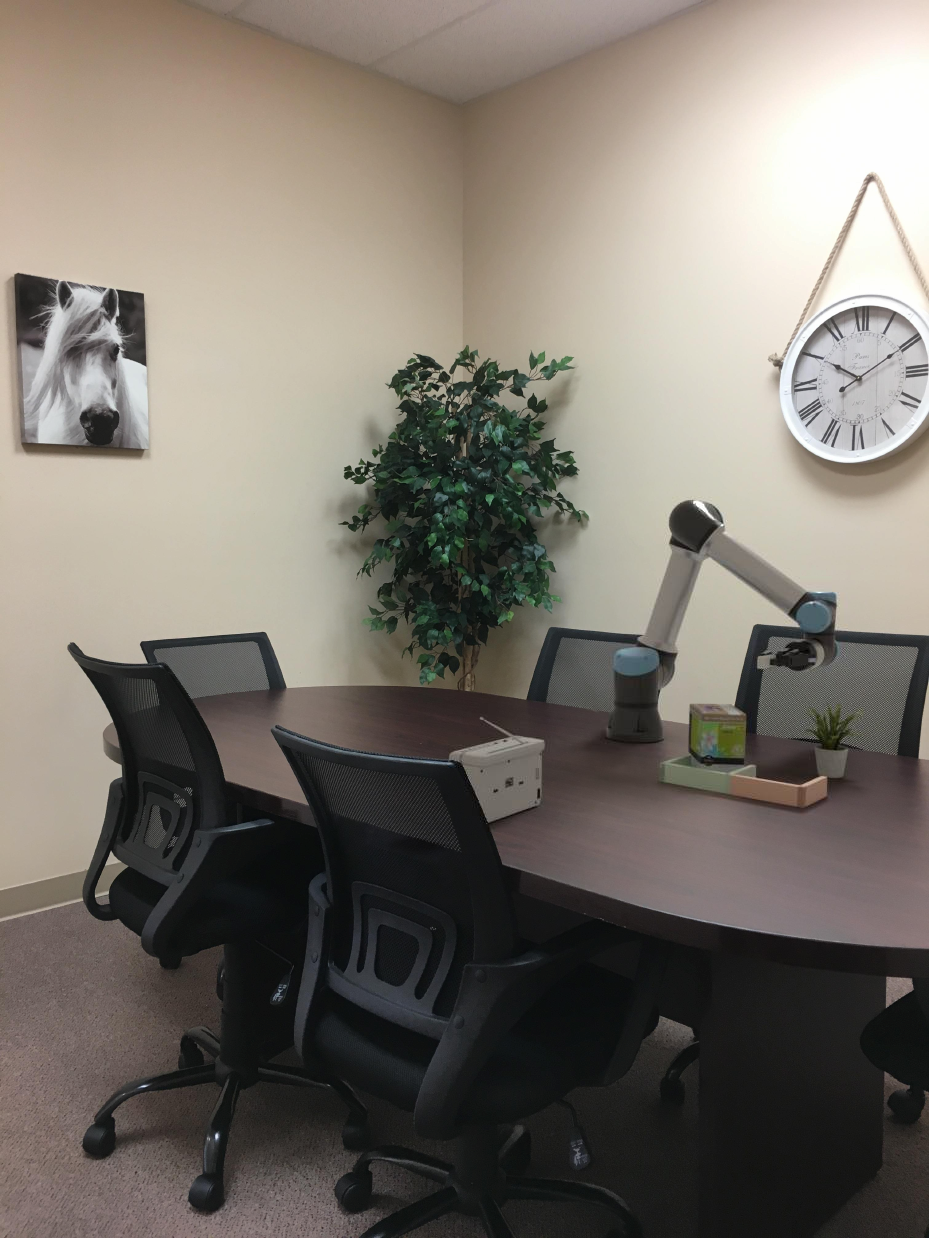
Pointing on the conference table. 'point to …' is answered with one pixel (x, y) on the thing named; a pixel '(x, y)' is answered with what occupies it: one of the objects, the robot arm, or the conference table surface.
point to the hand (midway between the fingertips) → (760, 662)
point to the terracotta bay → (779, 790)
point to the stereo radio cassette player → (504, 773)
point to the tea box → (717, 737)
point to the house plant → (831, 743)
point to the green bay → (699, 775)
